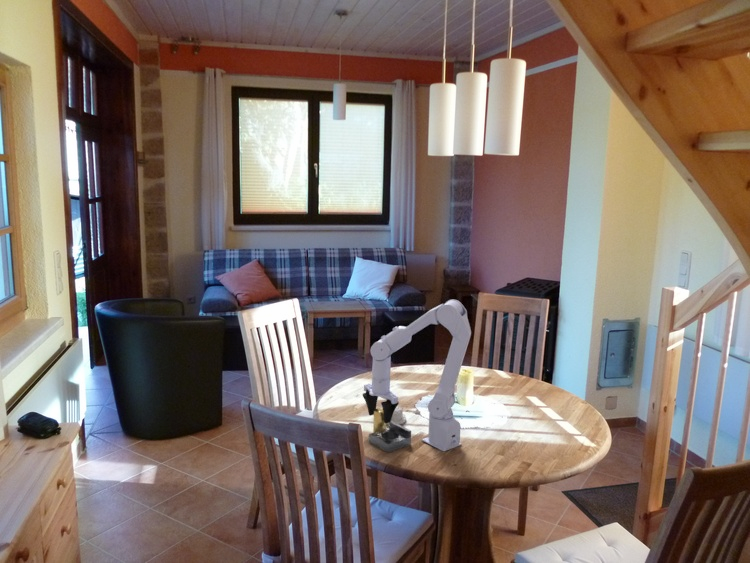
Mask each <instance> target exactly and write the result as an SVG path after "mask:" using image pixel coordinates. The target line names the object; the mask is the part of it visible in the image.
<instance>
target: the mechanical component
mask: <svg viewBox="0 0 750 563" xmlns="http://www.w3.org/2000/svg"><path fill="white" fill-rule="evenodd" d="M380 408H381V409H383V407H382V405H381V406H380ZM391 421H392V422H394V423H396V424H399V425H403V424H405V423H406V421H407V415H406V414H404V413H403V408H402V406H401V405H397V407H396V408H395V410H394V413H393V415H392V418H391ZM386 426H389V423H386Z"/></svg>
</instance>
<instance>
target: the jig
mask: <svg viewBox="0 0 750 563" xmlns="http://www.w3.org/2000/svg"><path fill="white" fill-rule="evenodd" d="M368 442H369V443H370V444H372V445H374V446H376V447H377V448H379V449H381V450H383V451H385V452H386V453H390V452H393V451H397V450H400V449H402V448H406V447H408V446H411V445H412V444H411V443H412V430H410V429H409V428H406V427H404V426H402V424H400V425H399V424H396V423H394V422H392V421H391V422H389V425H388V428H387V427H386V429H384V430H381V431H378V432H375V433H374V432H372V433H369V434H368Z"/></svg>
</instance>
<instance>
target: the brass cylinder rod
mask: <svg viewBox="0 0 750 563" xmlns="http://www.w3.org/2000/svg"><path fill="white" fill-rule="evenodd" d="M372 427H373V428H372V429H373V430H372V433H375V432H378V431H381V430H384V429H387V425H386V423H384V412H383V409H381V407H380V408H379V407H378V408H376V409H375V410H374V415H373V426H372Z"/></svg>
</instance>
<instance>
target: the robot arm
mask: <svg viewBox="0 0 750 563" xmlns="http://www.w3.org/2000/svg"><path fill="white" fill-rule="evenodd" d="M439 324H441V326H443V327H444V328H446V329H447V330H448V331H449V333H450V334H451V336H452V340H451V344H450V347H449V349H448V353H447V357H446V359H445V364H444V367H443V369H442V373H441V376H440V380H439V383H438V385H437V388H436V390H435V392H434V395H433V398H432V399H430V401H429V402H428V405H427V410H428V413H429V415H428V417H429V418H428V436H427V437H425V438H422V439H421V440H422V442H424V443H426V444H428V445H429V446H432V447H434V448H436V449H438V450H440V451H442V452H446V451H448V450H451V449H454V448H457V447H459V446H462V442H461V422H460V421H458V420H457V419H455V417H454V412H453V410H452V408H453V406H454V405H455V402H456V399H455V398H456V397H455V391H456V385H457V381H458V378H459V375H460V372H461V368H462V365H463V362H464V358H465V355H466V352H467V348H468V345H469V343H470V339H471V336H472V330H471V326H470V325H471V324H470V322H469V319H468V311H467V309H466V308H465V306H464V305H463V304H462V302H460V301H459V300H457V299H449V300H447V301H445V303H441V304H439V305H437V306H435V307H433V308H432V309H429V310H428V311H427V312H426V313H424V314H422V315H421V316H420V317H418V318H417V319H415V320H414V321H413V322H411V323H409V325H407V326H404V325H399V326H395V327H393V328H392V331H390V332H389V333H387V334H386V335H385V334H384V335H382V336H381V337H380V339H379V340H378V341H375V342H374V343H373V344H372V345H371V347H370V355H371V357H372V362H371V363H372V365H371V366H372V368H371V369H372V370H371V384H370V383H367V384H363V391H364V393H362V398H363V399H364V400H365V404H366V408H367V412H368V415H369V416H374V410H375V409H377V403H378V399H379V398H382V399H384V401H381V402H380V404H381V406H382V407H383V412H384V423H389V422H391V418H392V415H393V413H394V410H395V408H396V407H397V406H399V396H397V395H395V394H394V393H393V392H392V391H391V390H390V389H391V367H392V362H391V360H392V358H391V355H392V354H393V353H395V352H397V351H398V350H400V349H401V348H403V347H405V346H406V345H407V344H409V343H411V341H412V336H413V335H415V334H417V333H418V332H420V331H422V330H423V329H424V328H426V327H428V326H429V325H439Z"/></svg>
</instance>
